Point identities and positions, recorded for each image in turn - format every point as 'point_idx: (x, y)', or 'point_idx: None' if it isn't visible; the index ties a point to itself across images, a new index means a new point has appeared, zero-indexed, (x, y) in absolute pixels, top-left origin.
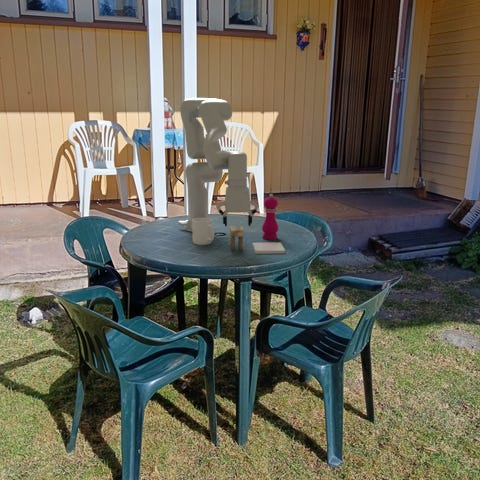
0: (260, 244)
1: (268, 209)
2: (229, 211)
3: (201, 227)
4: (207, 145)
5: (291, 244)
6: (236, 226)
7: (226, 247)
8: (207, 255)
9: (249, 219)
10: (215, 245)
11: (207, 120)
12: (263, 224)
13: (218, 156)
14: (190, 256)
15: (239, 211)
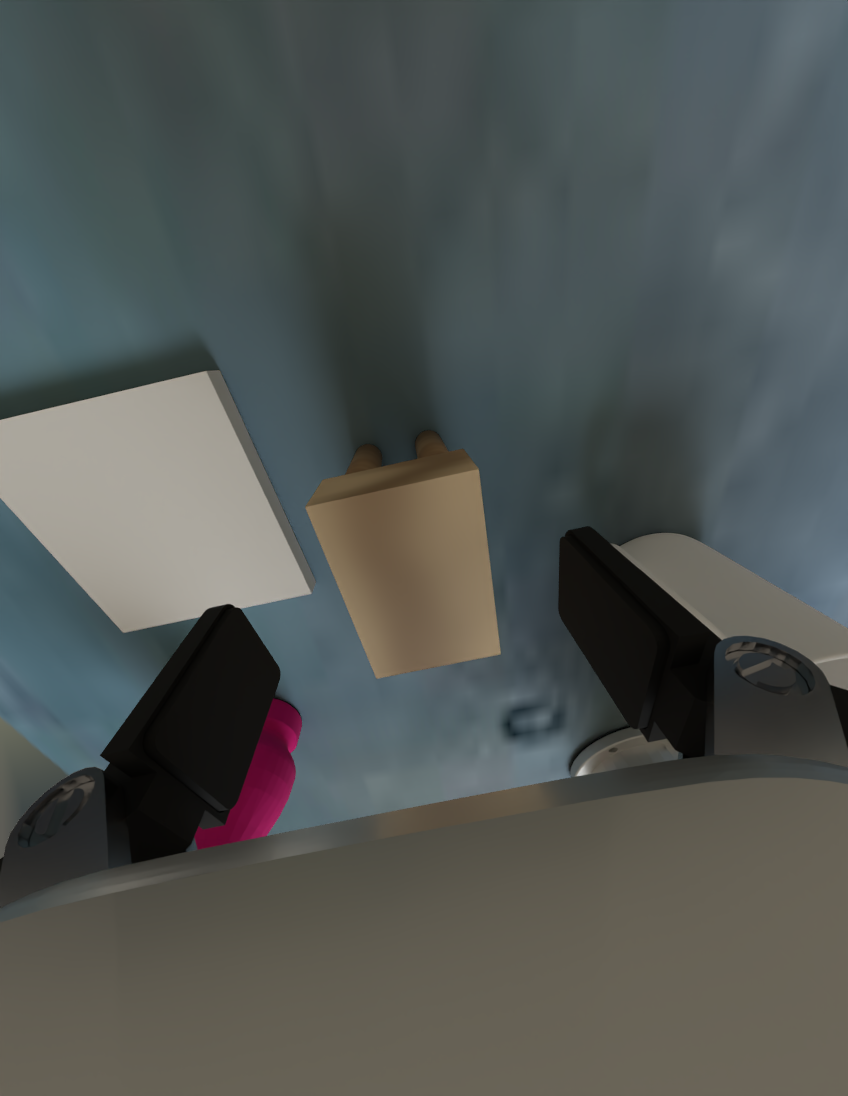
0: (241, 565)
1: None
2: (781, 790)
3: (776, 609)
4: None
5: (80, 646)
6: (433, 657)
7: (485, 508)
8: (650, 217)
9: (169, 688)
10: None
11: None
12: (270, 799)
13: None
14: (830, 135)
15: (298, 870)
